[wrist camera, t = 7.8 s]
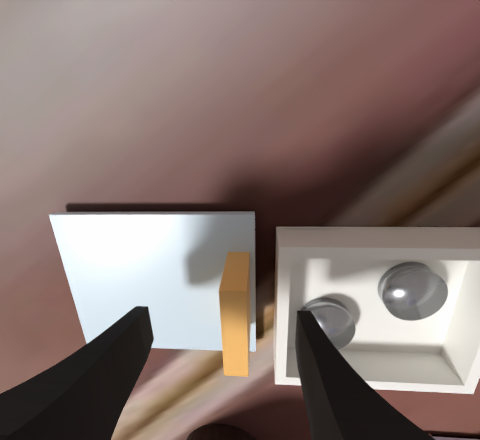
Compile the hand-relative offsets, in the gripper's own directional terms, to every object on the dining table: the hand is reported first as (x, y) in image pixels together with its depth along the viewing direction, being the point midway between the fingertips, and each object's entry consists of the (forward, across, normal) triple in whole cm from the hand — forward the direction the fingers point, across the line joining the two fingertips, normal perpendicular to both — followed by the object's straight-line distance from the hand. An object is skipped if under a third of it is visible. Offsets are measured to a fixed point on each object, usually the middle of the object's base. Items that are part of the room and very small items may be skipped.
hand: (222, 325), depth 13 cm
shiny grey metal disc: (+4, -10, 0) cm, 11 cm away
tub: (+4, -8, +1) cm, 9 cm away
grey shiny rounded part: (+4, -6, +2) cm, 7 cm away
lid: (+4, +4, 0) cm, 6 cm away
